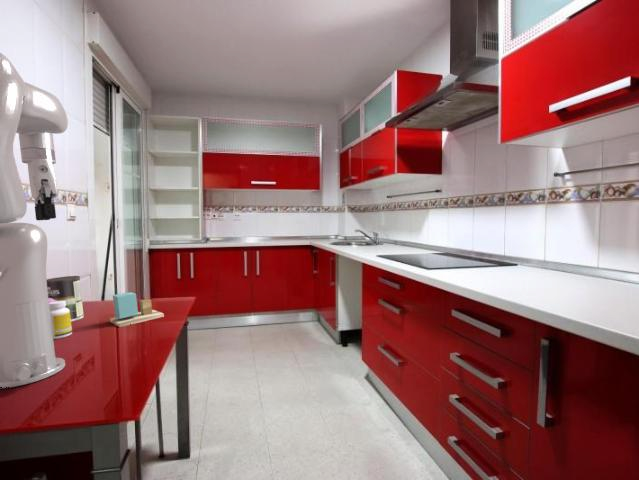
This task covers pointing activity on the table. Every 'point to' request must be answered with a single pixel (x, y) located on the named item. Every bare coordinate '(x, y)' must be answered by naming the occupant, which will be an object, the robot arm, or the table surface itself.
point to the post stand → (139, 315)
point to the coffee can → (67, 294)
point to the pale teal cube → (125, 305)
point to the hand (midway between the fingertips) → (45, 219)
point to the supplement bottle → (60, 319)
